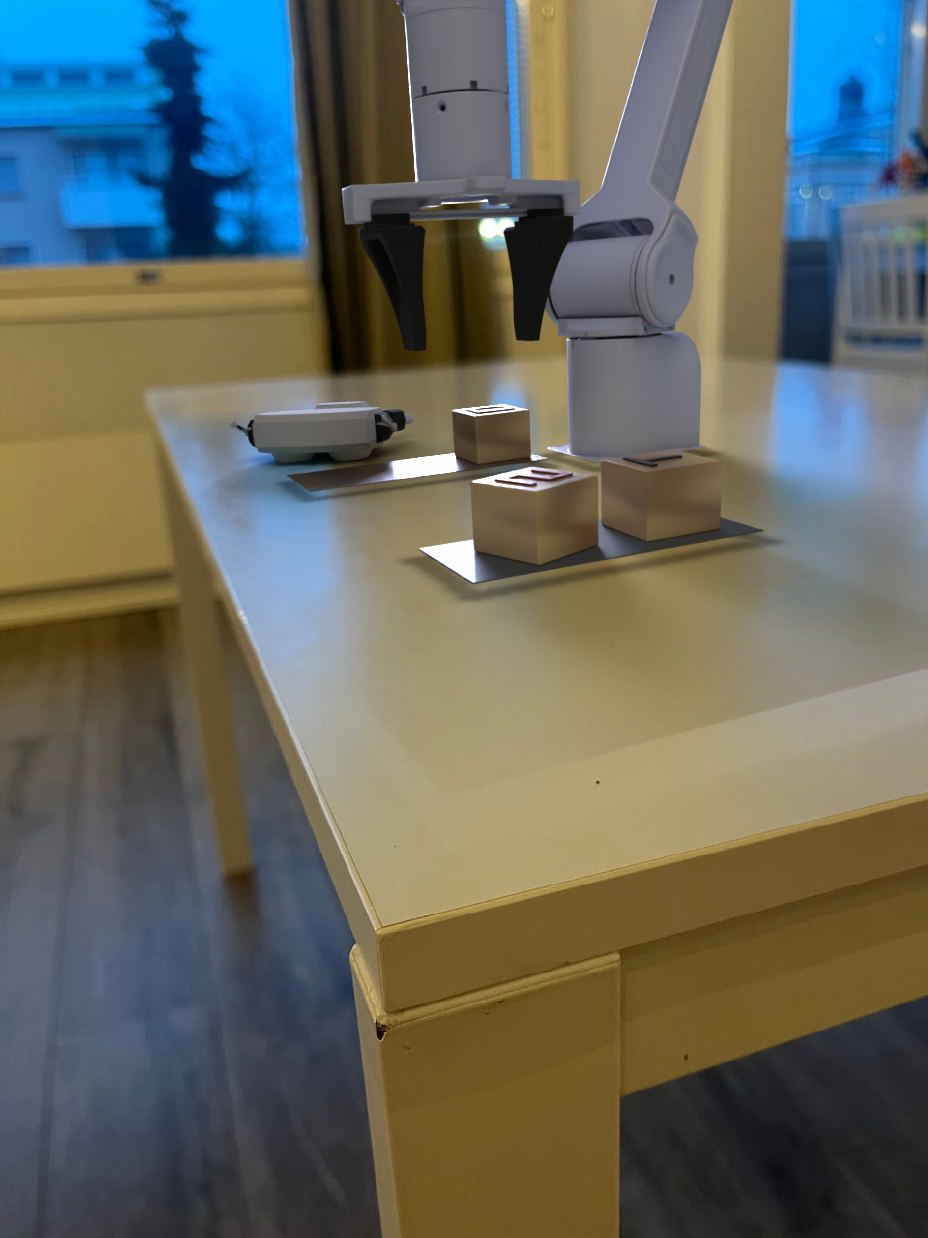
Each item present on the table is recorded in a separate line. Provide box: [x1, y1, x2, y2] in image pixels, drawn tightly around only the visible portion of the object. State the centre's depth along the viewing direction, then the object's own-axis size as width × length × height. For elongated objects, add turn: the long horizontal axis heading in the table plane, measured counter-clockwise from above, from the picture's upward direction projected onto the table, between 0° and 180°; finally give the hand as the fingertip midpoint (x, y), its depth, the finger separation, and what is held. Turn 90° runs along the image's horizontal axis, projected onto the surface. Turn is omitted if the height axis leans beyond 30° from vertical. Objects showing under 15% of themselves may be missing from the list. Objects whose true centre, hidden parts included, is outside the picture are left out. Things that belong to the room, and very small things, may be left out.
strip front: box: [418, 516, 765, 585], centre depth 48 cm, size 16×7×1 cm, turn 113°
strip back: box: [286, 452, 549, 493], centre depth 70 cm, size 18×7×1 cm, turn 113°
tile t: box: [600, 450, 723, 542], centre depth 49 cm, size 4×4×4 cm
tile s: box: [469, 466, 600, 565], centre depth 46 cm, size 4×4×4 cm
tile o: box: [451, 404, 532, 464], centre depth 71 cm, size 4×4×4 cm
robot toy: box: [229, 400, 415, 463], centre depth 79 cm, size 12×4×15 cm
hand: (472, 345), depth 60 cm, fingers open, 7 cm apart
